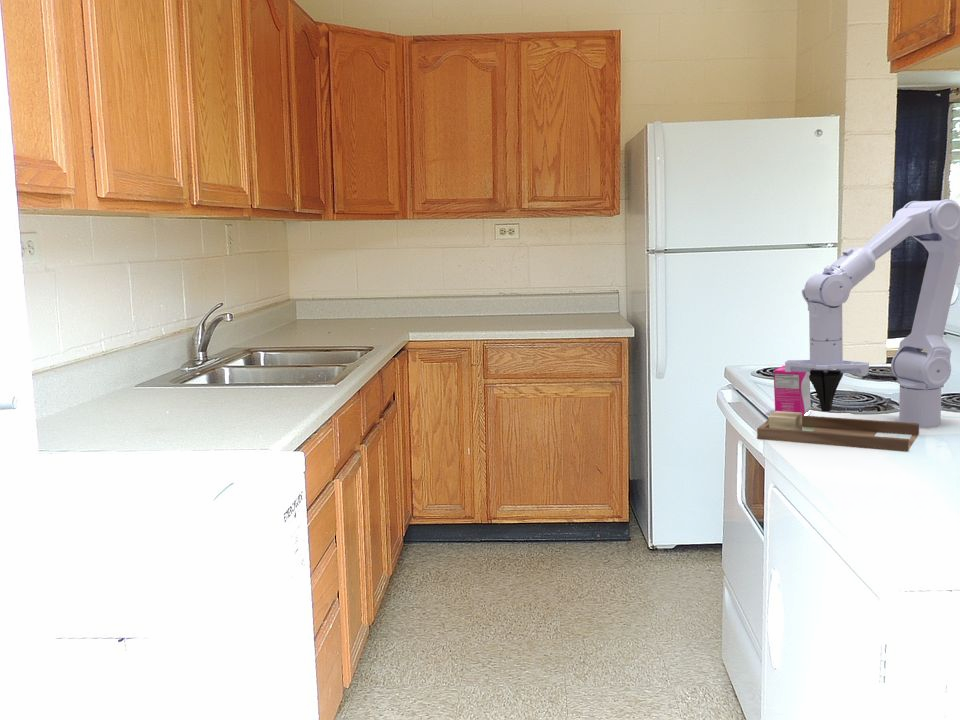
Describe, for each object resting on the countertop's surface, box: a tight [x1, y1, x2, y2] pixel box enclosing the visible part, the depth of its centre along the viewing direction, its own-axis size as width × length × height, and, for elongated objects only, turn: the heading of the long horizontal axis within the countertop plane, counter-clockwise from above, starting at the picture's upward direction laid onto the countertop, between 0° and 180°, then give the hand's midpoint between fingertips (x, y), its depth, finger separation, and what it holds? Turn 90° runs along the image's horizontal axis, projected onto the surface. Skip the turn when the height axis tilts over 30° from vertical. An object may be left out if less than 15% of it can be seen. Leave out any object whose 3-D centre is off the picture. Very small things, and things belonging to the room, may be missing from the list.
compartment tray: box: [756, 415, 920, 452], centre depth 167 cm, size 13×26×4 cm, turn 56°
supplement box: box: [773, 365, 812, 415], centre depth 185 cm, size 6×6×12 cm
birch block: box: [768, 410, 802, 431], centre depth 172 cm, size 5×5×4 cm
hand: (826, 410), depth 167 cm, fingers closed
